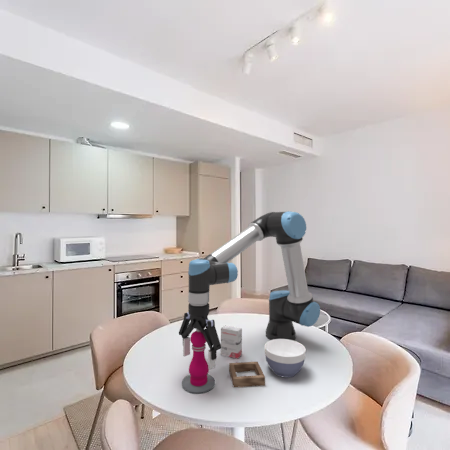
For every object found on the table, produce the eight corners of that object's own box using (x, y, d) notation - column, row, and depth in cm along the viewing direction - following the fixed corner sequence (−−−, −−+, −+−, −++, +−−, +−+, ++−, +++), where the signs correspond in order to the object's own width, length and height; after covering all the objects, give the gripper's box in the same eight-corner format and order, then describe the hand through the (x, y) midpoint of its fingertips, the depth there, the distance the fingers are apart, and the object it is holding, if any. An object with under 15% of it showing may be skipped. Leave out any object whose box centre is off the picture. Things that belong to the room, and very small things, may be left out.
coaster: (213, 373, 112) (213, 371, 112) (216, 392, 100) (216, 390, 100) (182, 375, 110) (182, 373, 110) (181, 394, 98) (181, 392, 98)
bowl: (298, 387, 103) (298, 360, 103) (257, 374, 111) (257, 349, 111) (310, 367, 117) (310, 344, 116) (273, 357, 125) (273, 335, 125)
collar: (257, 368, 115) (257, 361, 115) (265, 385, 104) (265, 377, 104) (229, 370, 114) (229, 363, 114) (233, 387, 103) (233, 379, 103)
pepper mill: (193, 389, 100) (193, 332, 99) (185, 379, 106) (185, 325, 105) (212, 383, 103) (212, 328, 103) (203, 374, 110) (203, 322, 109)
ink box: (242, 354, 128) (242, 327, 128) (238, 359, 123) (238, 331, 123) (224, 350, 132) (224, 324, 131) (219, 355, 127) (219, 328, 127)
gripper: (231, 308, 98) (231, 369, 99) (185, 294, 115) (184, 347, 116) (216, 313, 93) (215, 378, 93) (169, 298, 110) (169, 353, 110)
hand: (198, 361), depth 105 cm, fingers open, 13 cm apart
